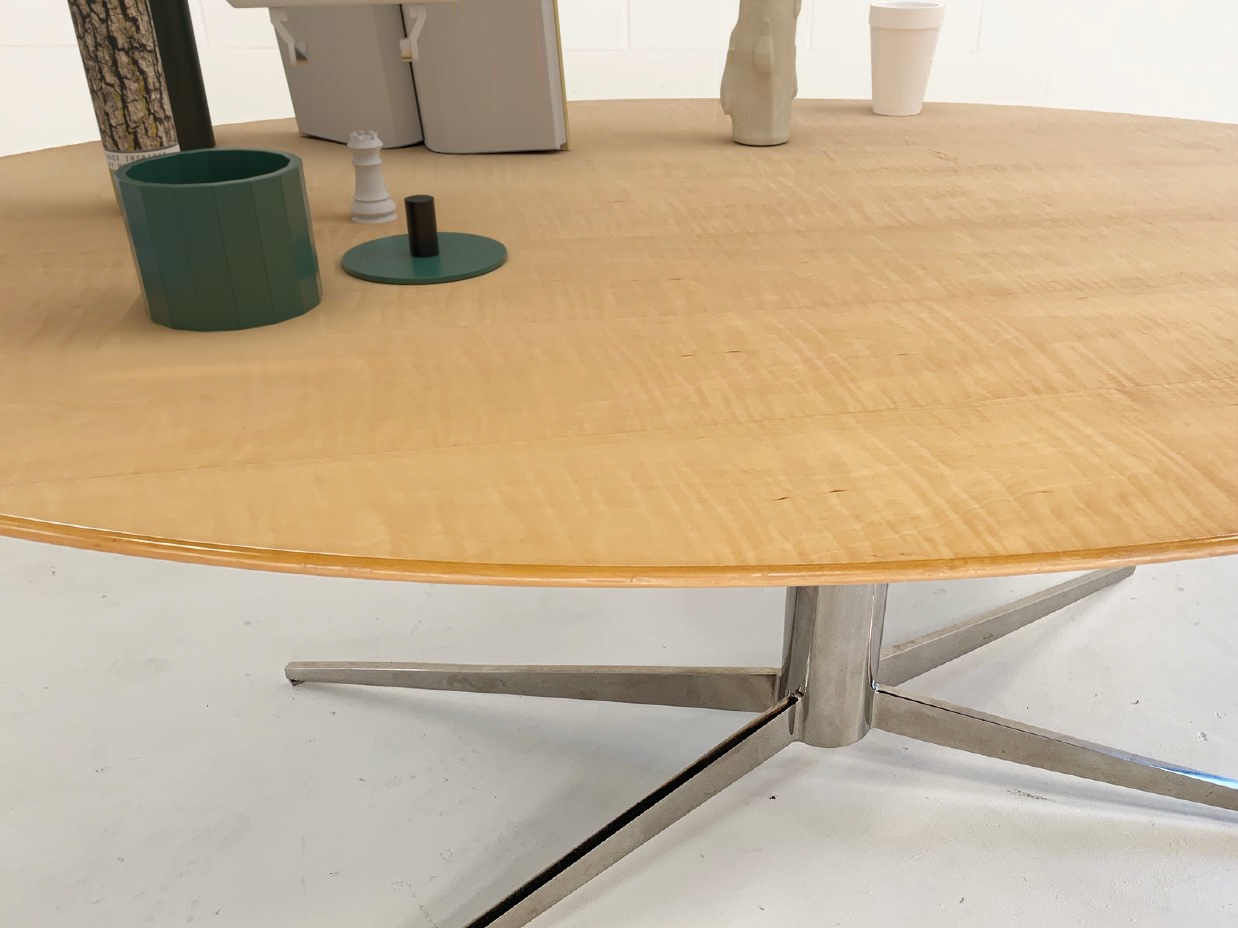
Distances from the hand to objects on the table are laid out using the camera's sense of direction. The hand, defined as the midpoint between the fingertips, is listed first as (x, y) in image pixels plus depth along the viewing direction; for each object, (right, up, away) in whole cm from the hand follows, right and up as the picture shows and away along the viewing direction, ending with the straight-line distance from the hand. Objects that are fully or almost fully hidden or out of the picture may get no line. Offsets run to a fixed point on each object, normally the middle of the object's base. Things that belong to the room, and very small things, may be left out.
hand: (355, 62), depth 101 cm
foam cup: (+59, +18, +55) cm, 83 cm away
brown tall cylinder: (-23, -9, +13) cm, 28 cm away
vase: (+39, +8, +39) cm, 56 cm away
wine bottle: (-30, +7, +38) cm, 49 cm away
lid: (+7, -19, -5) cm, 21 cm away
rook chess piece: (0, -12, +7) cm, 14 cm away
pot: (-6, -25, -14) cm, 29 cm away
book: (-1, +7, +38) cm, 39 cm away
